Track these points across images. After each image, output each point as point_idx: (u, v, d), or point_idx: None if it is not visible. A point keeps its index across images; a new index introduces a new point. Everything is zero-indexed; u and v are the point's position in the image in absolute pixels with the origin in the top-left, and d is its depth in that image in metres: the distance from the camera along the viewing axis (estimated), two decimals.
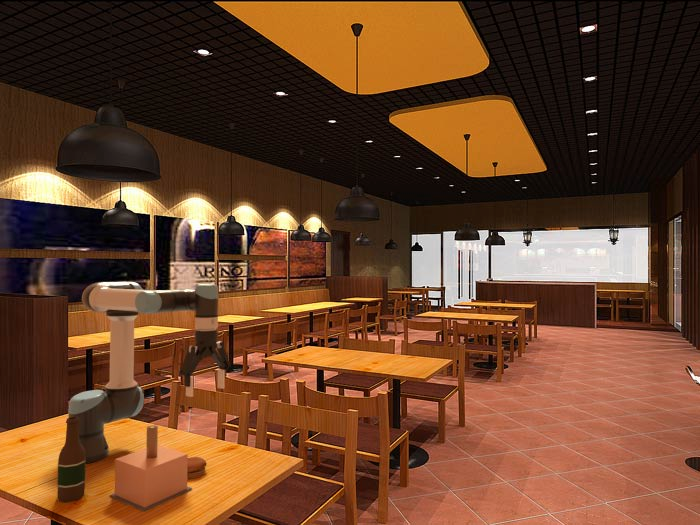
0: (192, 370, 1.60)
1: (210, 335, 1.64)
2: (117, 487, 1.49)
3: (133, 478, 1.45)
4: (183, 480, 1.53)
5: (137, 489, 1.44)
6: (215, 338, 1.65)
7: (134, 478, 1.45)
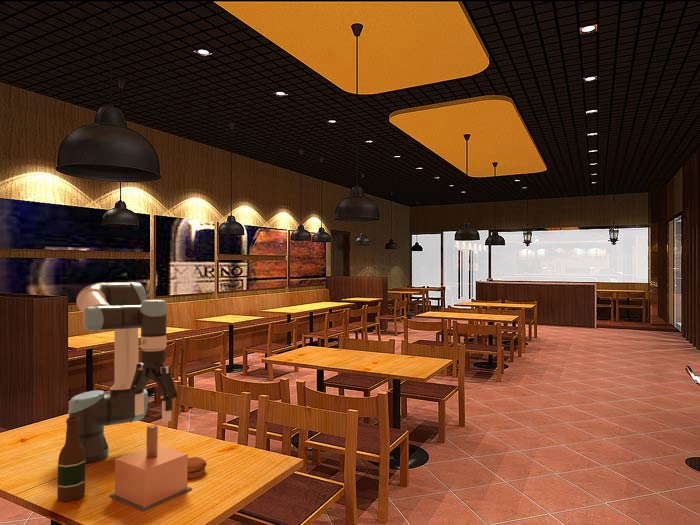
0: (136, 388, 1.55)
1: (140, 355, 1.51)
2: (117, 487, 1.49)
3: (133, 478, 1.45)
4: (183, 480, 1.53)
5: (137, 489, 1.44)
6: (144, 360, 1.49)
7: (134, 478, 1.45)
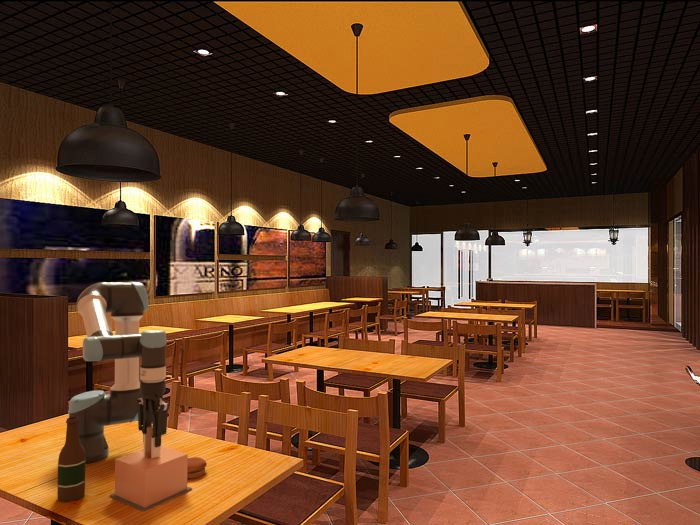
0: (143, 426, 1.53)
1: (140, 386, 1.51)
2: (117, 487, 1.49)
3: (133, 478, 1.45)
4: (183, 480, 1.53)
5: (137, 489, 1.44)
6: (143, 391, 1.49)
7: (134, 478, 1.45)
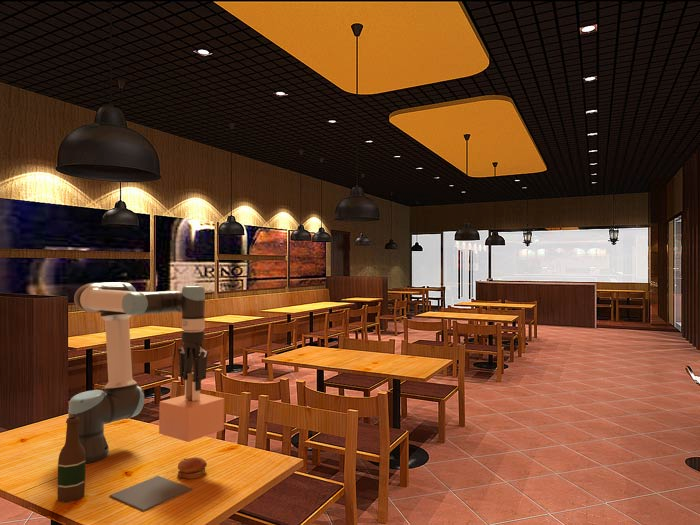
0: (184, 372, 1.69)
1: (182, 336, 1.66)
2: (161, 426, 1.65)
3: (177, 417, 1.61)
4: (220, 422, 1.69)
5: (181, 426, 1.59)
6: (185, 340, 1.65)
7: (178, 417, 1.60)
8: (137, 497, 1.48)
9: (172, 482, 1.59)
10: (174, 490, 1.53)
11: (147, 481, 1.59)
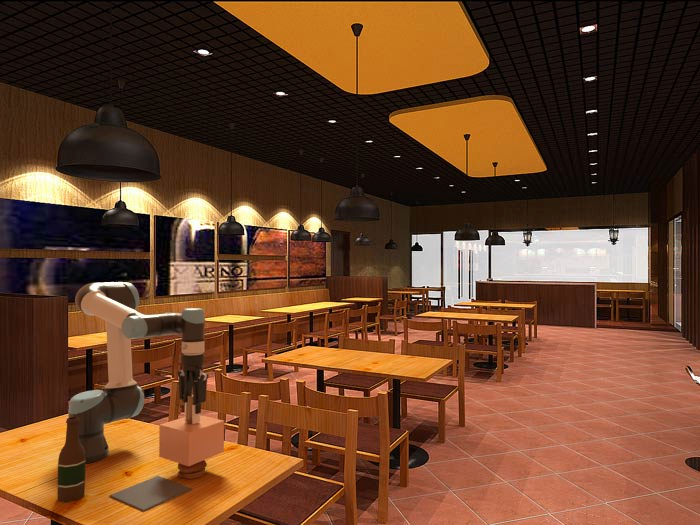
0: (184, 395, 1.68)
1: (181, 359, 1.66)
2: (161, 450, 1.65)
3: (177, 440, 1.60)
4: (220, 444, 1.69)
5: (181, 450, 1.59)
6: (185, 363, 1.65)
7: (178, 440, 1.60)
8: (137, 497, 1.48)
9: (172, 482, 1.59)
10: (174, 490, 1.53)
11: (147, 481, 1.59)
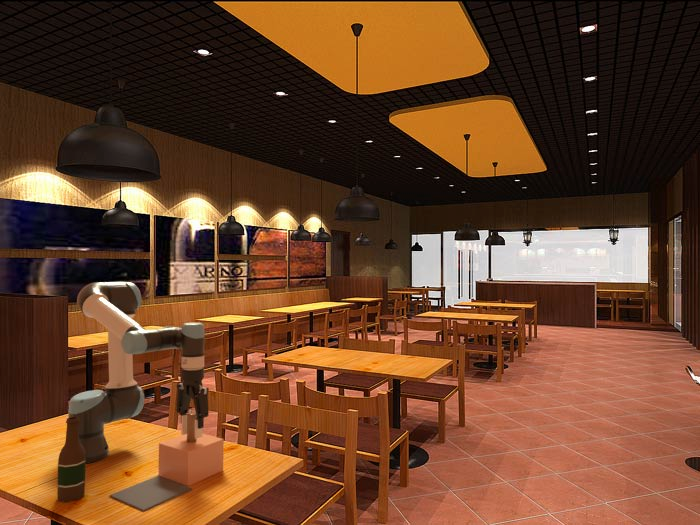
0: (181, 408, 1.69)
1: (181, 374, 1.66)
2: (161, 468, 1.65)
3: (176, 460, 1.60)
4: (220, 463, 1.69)
5: (180, 470, 1.59)
6: (185, 378, 1.65)
7: (177, 460, 1.60)
8: (137, 497, 1.48)
9: (172, 482, 1.59)
10: (174, 490, 1.53)
11: (147, 481, 1.59)
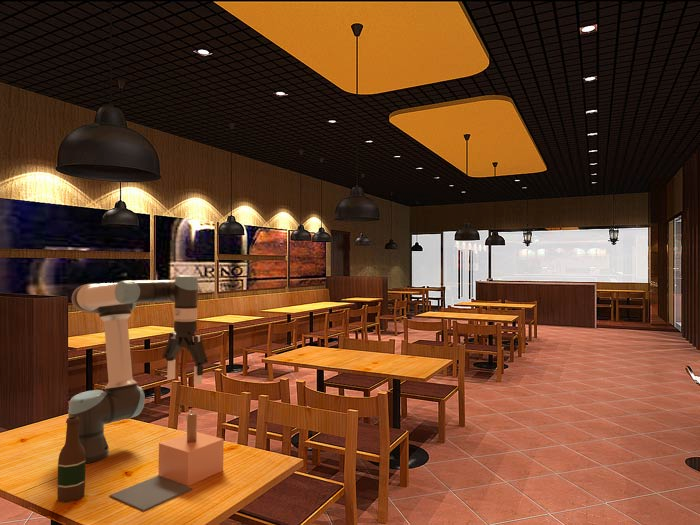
0: (169, 355, 1.71)
1: (174, 325, 1.66)
2: (161, 468, 1.65)
3: (176, 460, 1.60)
4: (220, 463, 1.69)
5: (180, 470, 1.59)
6: (178, 329, 1.65)
7: (177, 460, 1.60)
8: (137, 497, 1.48)
9: (172, 482, 1.59)
10: (174, 490, 1.53)
11: (147, 481, 1.59)
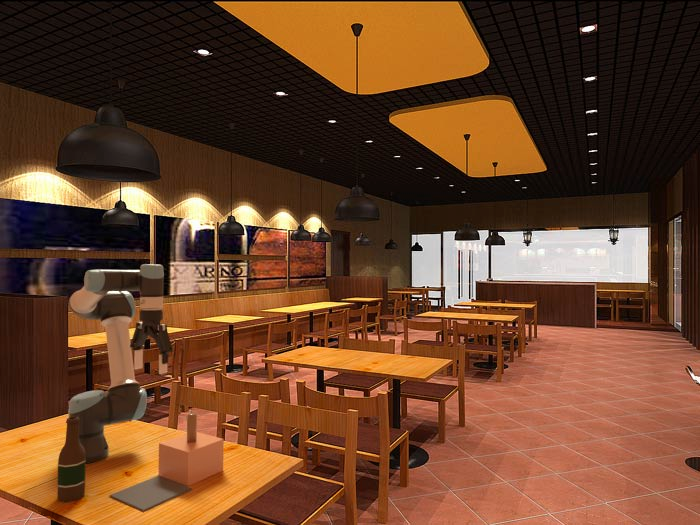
0: (135, 344, 1.71)
1: (139, 314, 1.66)
2: (161, 468, 1.65)
3: (176, 460, 1.60)
4: (220, 463, 1.69)
5: (180, 470, 1.59)
6: (143, 318, 1.65)
7: (177, 460, 1.60)
8: (137, 497, 1.48)
9: (172, 482, 1.59)
10: (174, 490, 1.53)
11: (147, 481, 1.59)
